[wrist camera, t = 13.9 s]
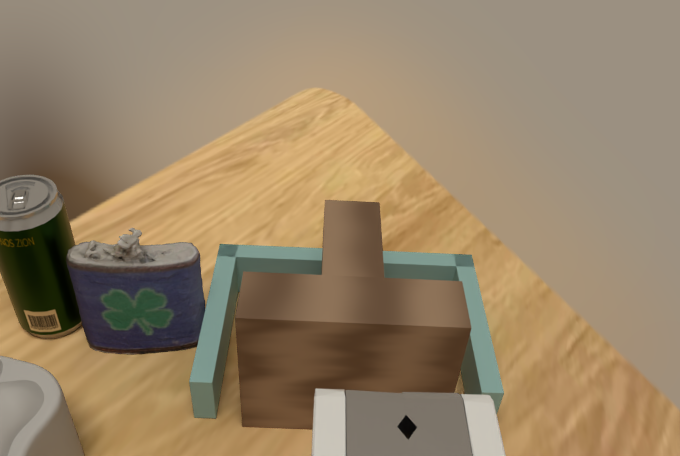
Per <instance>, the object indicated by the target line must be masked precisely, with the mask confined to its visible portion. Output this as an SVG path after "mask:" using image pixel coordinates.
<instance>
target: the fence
mask: <svg viewBox="0 0 680 456" xmlns="http://www.w3.org/2000/svg"><path fill="white" fill-rule="evenodd" d="M322 249H323V248H301V247H277V246H254V245H231V244H220V246H219V251H218V255H217V260H216V264H215V269H214V273H213V278H212V282H211V287H210V291H209V296H208V300H207V305H206V309H205V314H204V318H203V323H202V327H201V332H200V336H199V341H198V345H197V350H196V354H195V359H194V363H193V368H192V372H191V376H190V381H189V383H190V390H191V397H192V404H193V411H194V418H216V416H217V410H218V404H219V399H220V393H221V387H222V381H223V376H224V370H225V364H226V358H227V353H228V347H229V341H230V335H231V330H232V324H233V318H234V312H235V307H236V301H237V295H238V292H240V288H241V282H242V277H243V271H245V272H267V273H290V274H312V275H321V269H322ZM383 262H384V277H385V278H401V279H424V280H446V281H462V283H463V288H464V293H465V298H466V303H467V308H468V313H469V318H470V322H471V327H472V328H471V332H470V336H469V340H468V343H467V347H466V351H465V354H464V358H463V362H462V365H461V374H462V380H463V385H464V391H465V394H483V395H490V396H491V398H492V400H493V401H494V406H495V410H496V415H497V412H498V409H499V406H500V403H501V400H502V398H503V395H504V391H503V387H502V383H501V378H500V374H499V370H498V365H497V361H496V357H495V353H494V348H493V344H492V340H491V336H490V331H489V327H488V323H487V319H486V314H485V310H484V306H483V302H482V297H481V293H480V289H479V285H478V280H477V276H476V272H475V267H474V263H473V259H472V255H463V254H440V253H417V252H393V251H383Z"/></svg>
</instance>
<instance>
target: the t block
mask: <svg viewBox="0 0 680 456" xmlns="http://www.w3.org/2000/svg"><path fill="white" fill-rule="evenodd" d="M235 323H236V338H237V353H238V368H239V382H240V397H241V412H242V427H264V428H291V429H313V412H314V395H315V389H316V388H317V389H344V390H358V391H376V392H394V393H402V392H432V393H454V391H455V387H456V384H457V380H458V376H459V373H460V369H461V365H462V362H463V358H464V354H465V351H466V347H467V343H468V340H469V336H470V332H471V328H472V327H471V322H470V318H469V313H468V308H467V303H466V298H465V293H464V288H463V283H462V281H446V280H424V279H401V278H385V277H384V262H383V248H382V233H381V218H380V204H379V202H358V201H337V200H325V211H324V230H323V249H322V269H321V275H312V274H290V273H267V272H245V271H243V277H242V282H241V288H240V294H239V299H238V305H237V310H236V316H235Z"/></svg>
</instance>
